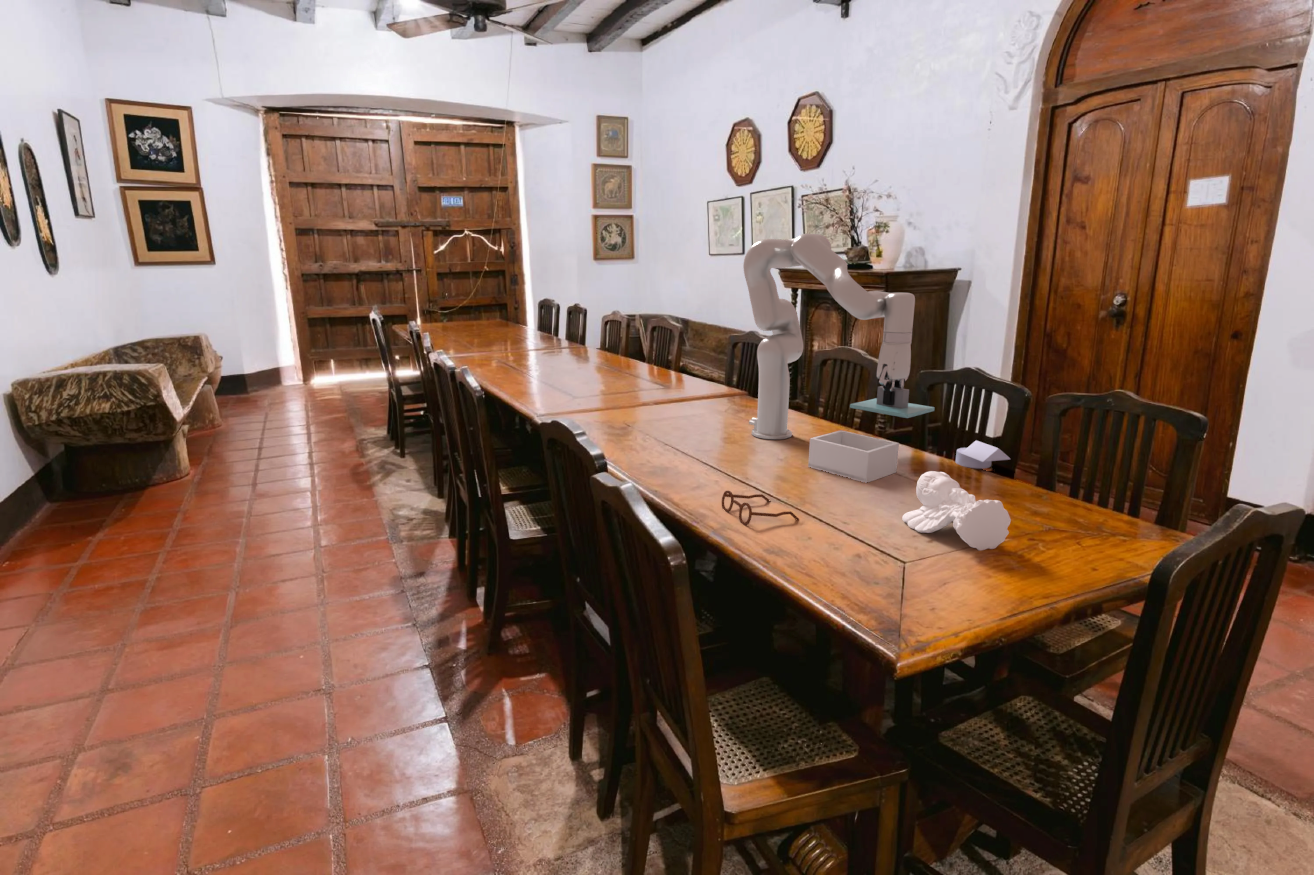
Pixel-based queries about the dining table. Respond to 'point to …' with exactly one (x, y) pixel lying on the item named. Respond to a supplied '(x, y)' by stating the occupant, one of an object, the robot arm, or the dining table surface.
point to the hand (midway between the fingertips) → (891, 403)
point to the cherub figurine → (957, 512)
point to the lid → (899, 407)
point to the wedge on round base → (979, 455)
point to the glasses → (749, 507)
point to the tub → (853, 455)
